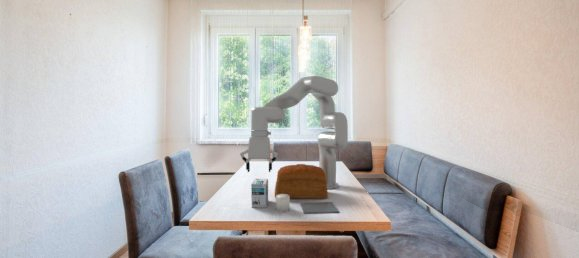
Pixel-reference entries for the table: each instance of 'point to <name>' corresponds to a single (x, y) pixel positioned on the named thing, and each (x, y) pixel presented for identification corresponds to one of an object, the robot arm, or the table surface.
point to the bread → (301, 182)
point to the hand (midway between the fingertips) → (259, 171)
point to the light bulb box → (259, 193)
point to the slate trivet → (319, 207)
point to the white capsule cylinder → (282, 202)
